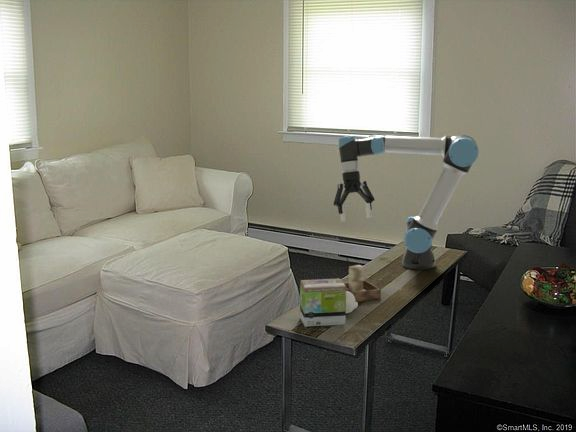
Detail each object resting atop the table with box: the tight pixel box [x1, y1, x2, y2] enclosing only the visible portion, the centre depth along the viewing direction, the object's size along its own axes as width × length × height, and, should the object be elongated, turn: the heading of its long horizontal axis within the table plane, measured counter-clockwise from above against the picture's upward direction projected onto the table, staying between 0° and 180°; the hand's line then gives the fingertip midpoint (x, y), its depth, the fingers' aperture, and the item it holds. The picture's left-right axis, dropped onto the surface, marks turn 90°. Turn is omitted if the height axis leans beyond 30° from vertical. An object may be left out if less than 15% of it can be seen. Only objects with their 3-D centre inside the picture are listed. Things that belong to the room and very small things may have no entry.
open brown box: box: [343, 279, 381, 303], centre depth 264 cm, size 12×13×4 cm
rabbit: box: [346, 291, 359, 314], centre depth 247 cm, size 12×9×12 cm
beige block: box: [348, 264, 366, 292], centre depth 263 cm, size 5×8×11 cm, turn 26°
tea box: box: [299, 278, 347, 328], centre depth 236 cm, size 15×10×15 cm, turn 99°
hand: (356, 219), depth 289 cm, fingers open, 13 cm apart
